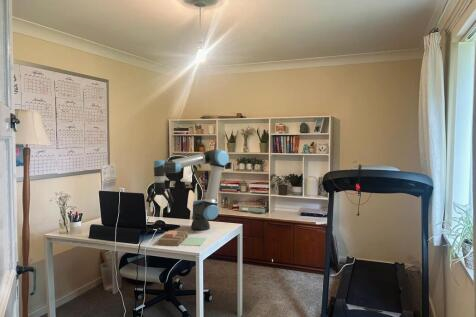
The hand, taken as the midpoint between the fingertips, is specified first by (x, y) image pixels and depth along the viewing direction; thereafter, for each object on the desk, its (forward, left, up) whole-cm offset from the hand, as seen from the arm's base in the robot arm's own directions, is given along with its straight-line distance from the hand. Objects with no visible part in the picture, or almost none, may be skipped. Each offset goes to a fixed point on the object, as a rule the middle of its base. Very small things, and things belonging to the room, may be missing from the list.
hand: (160, 211), depth 247 cm
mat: (0, +25, -20) cm, 32 cm away
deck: (0, +10, -20) cm, 23 cm away
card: (0, +8, -16) cm, 18 cm away
